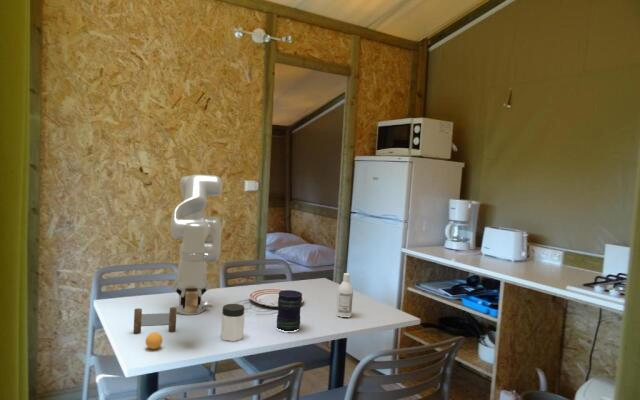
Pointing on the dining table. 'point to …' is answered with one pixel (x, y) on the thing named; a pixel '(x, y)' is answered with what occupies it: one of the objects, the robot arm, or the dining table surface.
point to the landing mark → (155, 319)
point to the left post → (137, 320)
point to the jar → (232, 322)
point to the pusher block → (191, 300)
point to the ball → (153, 340)
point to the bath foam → (345, 297)
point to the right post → (172, 319)
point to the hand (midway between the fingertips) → (190, 306)
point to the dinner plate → (265, 292)
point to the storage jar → (289, 310)
